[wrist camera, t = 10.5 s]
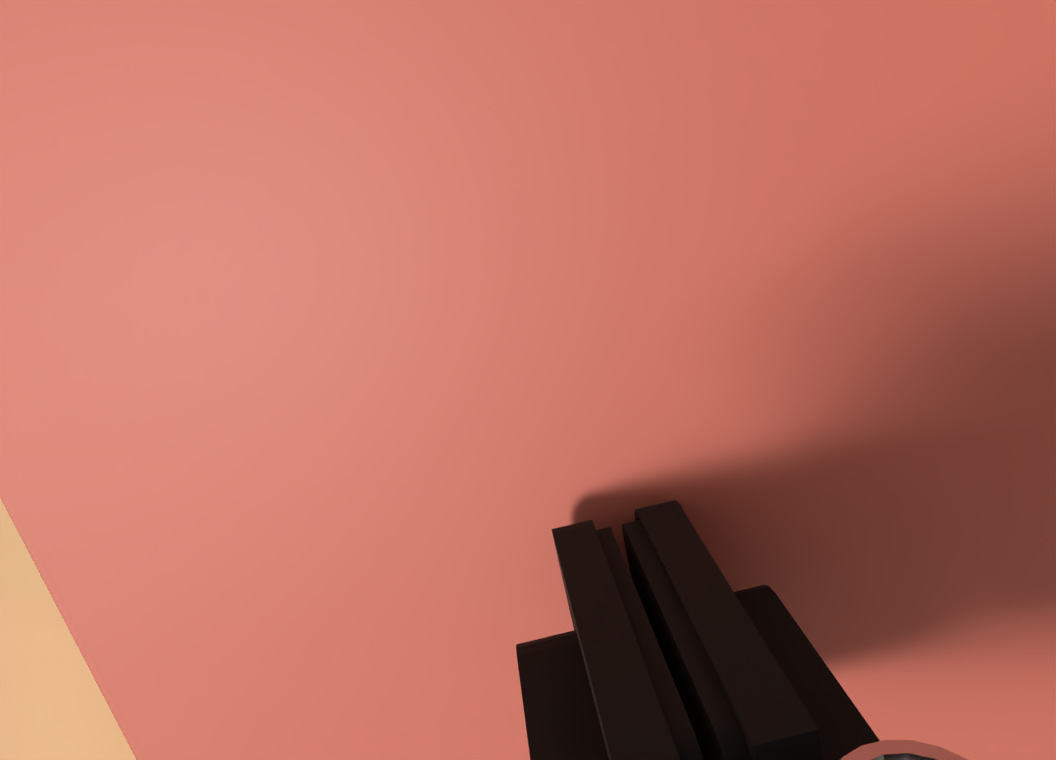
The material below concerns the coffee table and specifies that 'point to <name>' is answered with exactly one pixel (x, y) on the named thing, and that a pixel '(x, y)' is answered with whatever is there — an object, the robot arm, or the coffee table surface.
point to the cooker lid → (526, 348)
